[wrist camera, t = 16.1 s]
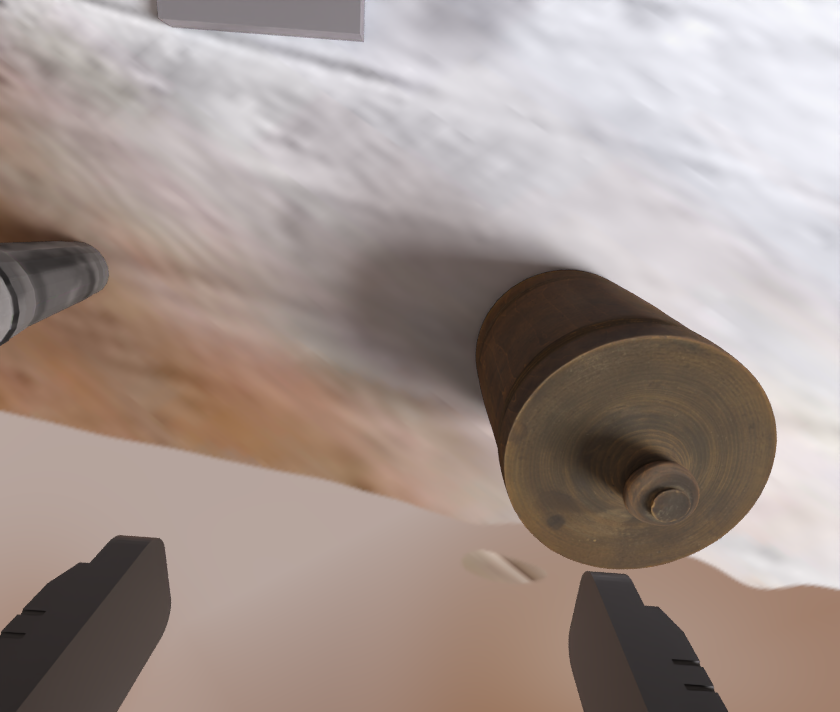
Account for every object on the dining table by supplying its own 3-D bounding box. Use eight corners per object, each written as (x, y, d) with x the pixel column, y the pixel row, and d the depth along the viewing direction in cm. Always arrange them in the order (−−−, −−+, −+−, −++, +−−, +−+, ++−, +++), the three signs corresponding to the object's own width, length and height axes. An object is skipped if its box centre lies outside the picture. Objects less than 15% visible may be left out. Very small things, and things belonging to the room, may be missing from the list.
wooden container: (470, 425, 46) (502, 622, 25) (479, 267, 41) (528, 350, 21) (630, 430, 46) (793, 632, 25) (658, 271, 41) (889, 359, 20)
